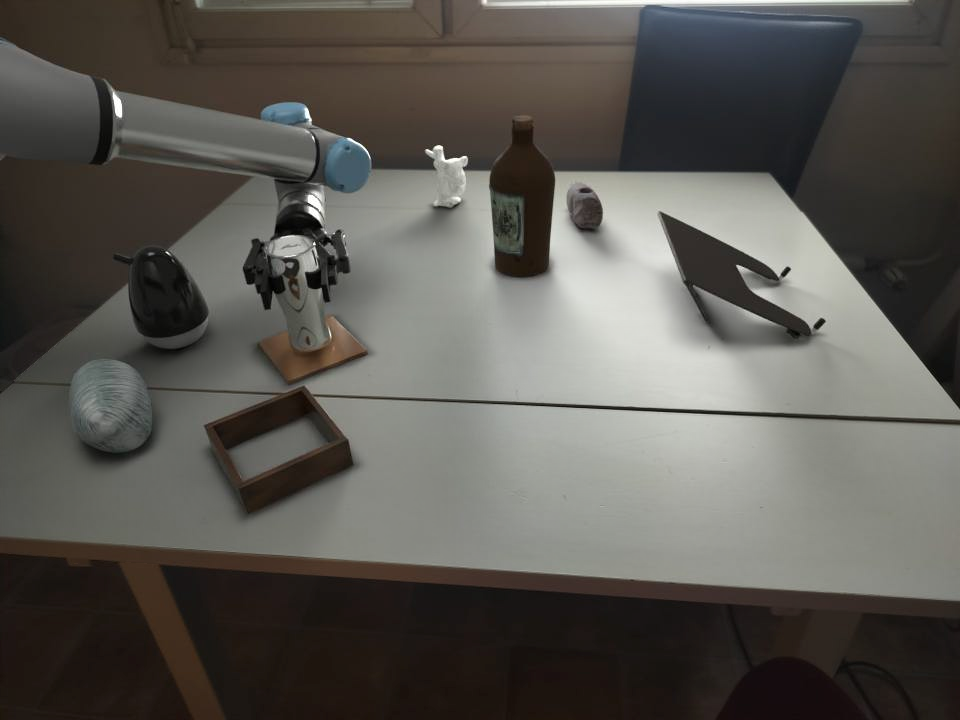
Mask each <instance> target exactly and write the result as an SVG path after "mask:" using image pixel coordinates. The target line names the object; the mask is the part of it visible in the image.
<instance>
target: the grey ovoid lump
mask: <svg viewBox="0 0 960 720" xmlns="http://www.w3.org/2000/svg"><path fill="white" fill-rule="evenodd" d="M68 391H69V392H68V414H69V418H70V419H69V420H70V422H71V426H72V428H73V430H74V432H75V434H76V436H77V438H79V439H80V440H81V441H82V442H83V443H85V444H86V445H88V446H90V447H92V448H95V449H97V450H100V451H103V452H109V453H126V452H132V451H134V450H135V449H136V450H137V448H139V447H141V446H142V445H143V444H144V443H145V442H146V440H147V439H148V438H149V436H150V434H151V432H152V423H153V409H152V401H151V397H150V393H149V389H148V386H147V384H146V382H145V380H144V379H143V377H142V375H141V374H140V373H139V372H138V370H137V369H135V368H134V367H133V366H131V365H129V364H127V363H126V362H122V361H120V360H118V359H117V360H116V359H109V358H99V359H93V360H90V361H88V362H86V363H85V364H84V365H82V366H81V367H80V368H78V370H76V372H75V373H74V375H73V376H72V379H71V383H70V387H69V390H68Z"/></svg>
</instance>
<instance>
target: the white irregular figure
mask: <svg viewBox="0 0 960 720" xmlns="http://www.w3.org/2000/svg"><path fill="white" fill-rule="evenodd" d="M424 152H425V154H426V155H427V156H428V157H430V158H432V159H434V160H433V167H434V168H435V169H436V172H437V195H438V198H437V199H436V200H435V201H434V202H433V203H432V206H433V207H439V206H440V207H446V208H448V209H451V208H453V207H454V206H455V205H458V204H459V203H461V201H462V199H461V198H460V197H458V196H461V195H463V194H464V192H465V191H466V187H467V179H466V175H465V171H464V169H463V168H465V167H467V165H468V164H469V163H468V162H469V158H468V157H467V155H465V156H464V155H463V156H461V157H460V158H457V157H453V158H449V159H445V154H444V147H443V146H442V145H439V144H438V145H436V146H433V148H432V150H429V149H424Z"/></svg>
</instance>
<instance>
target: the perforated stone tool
mask: <svg viewBox="0 0 960 720" xmlns="http://www.w3.org/2000/svg"><path fill="white" fill-rule="evenodd" d="M565 200H566V201H565V203H566V206H567V210H568V212H569V214H570V216H571V218H572V220H573V222H574V223H575V224H576V225H577V226H578V227H579V228H580V229H584V230H585V229H596V228H598V227H600V226H601V224H602V222H603V218H604V209H603V205H602V202H601V199H600V198H599V195H598V194H597V193H596V192H595V190H594V189H593V188H592V187H591V186H589V185H587V184H586V183H584V182H582V181H573V182H572V183H571V184H570V185H569V187H568V188H567V191H566V199H565Z"/></svg>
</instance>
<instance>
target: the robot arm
mask: <svg viewBox="0 0 960 720" xmlns="http://www.w3.org/2000/svg"><path fill="white" fill-rule="evenodd" d="M262 109H263V110H262V111H261V112H260V118H259V119H258V118H255V117H249V116H245V115H239V114H233V113H229V112H224V111H219V110H215V109H209V108H205V107H199V106H195V105H189V104H185V103H179V102H174V101H169V100H165V99H160V98H155V97H150V96H145V95H140V94H139V95H138V94H135V93H129V92H125V91H121V90H120V91H119V90H115V89H114V87H112V85H111V84H110V83H109V82H108V81H107V80H106V79H105V78H103V77H98V76H93V75H88V74H84V73H80V72H76V71H74V70H71V69H68V68H65V67H63V66H59V65H57V64H54V63H52V62H50V61H48V60H45V59H43V58H41V57H38V56H36V55H34V54H33V53H30V52H28V51H26V50H24V49H22V48H20V47H18V46H17V45H16V44H14V43H12V42H11V41H9V40H7V39H5V38H3V37H0V161H2V160H3V159H4V158H5V157H6V156H7V157H12V158H19V159H27V160H38V161H39V160H41V161H53V162H62V163H74V164H84V165H94V166H106V165H107V164H109V162H110V161H112V160H113V159H116V160H124V161H125V160H126V161H134V162H139V163H149V164H155V165H165V166H172V167H179V168H187V169H188V168H189V169H193V170H194V169H195V170H203V171H211V172H220V173H226V174H234V175H242V176H249V177H257V178H266V179H273V182H274V188H275V192H276V195H277V201H278V202H277V203H278V204H277V210H276V211H277V212H276V217H275V224H274V229H273V235H272V236H271V237H270V239H269V240H267V241H264V240H261V239H260V238H257V237H255V238H252V239H251V240H250V243H251V248H250V251H249V253H248V255H247V257H246V259H245V261H244V263H243V265H242V272H243V275H244V279H245V283H246V285H248V286H251V285H254V287H255V292H256V294H258V295H260V298H261V300H262V301H261V302H262V305H263V310H264V311H270V310H271V309H272V303H273V294H274V292H273V289H272V286H271V283H270V279H269V275H268V270H267V264H266V257H265V252H264V247H265V246H266V244H267V243H269V242H270V241H272V240H274V239H276V238H279V237H283V236H288V235H304V236H308V237H311V238H312V239H313V240H314V241H315V246H316V249H317V253H318V256H319V260H320V264H321V287H322V292H323V298H324V304H326V303H331V287H332V286H337V285H338V284H339V274H340V273H342V274H345V275H347V274H351V272H352V270H351V264H350V258H349V254H348V251H347V248H346V247H347V242H346V236H345V230H344V229H341V228H340V229H337V230H335V232H332V233H330V234H328V233H327V231H326V213H325V212H326V211H325V210H326V208H325V207H326V201H327V197H326V191H325V187H326V188H329V189H330V190H331V191H334V192H340V193H343V194H353V193H356V192H358V191H360V190H361V189H363V188H364V187H365V185H366V184H367V183H368V181H369V179H370V176H371V172H372V159H371V156H370V154H369V152H368V150H367V149H366V148H365V146H363V144H361V143H359V142H357V141H356V140H353V138H350V137H345V136H342V135H338V134H336V133H334V132H330V131H328V130H325V129H323V128H322V127H318V126H316V125H313V124H312V121H313V119H312V118H311V114H310V111H309V108H308V106H306V105H305V104H303V103H301V102H296V101H295V102H294V101H291V102H289V101H288V102H287V101H286V102H279V103H275V104H271V105H267V106H266V107H265V108H262ZM328 244H330V246H332V248H333V250H335V253H333V254H331V253H330V252H329V251H328V250H327V248H326V247H327V246H328ZM335 254H336V255H335ZM335 256H336V257H337V259H336V257H335Z"/></svg>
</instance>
